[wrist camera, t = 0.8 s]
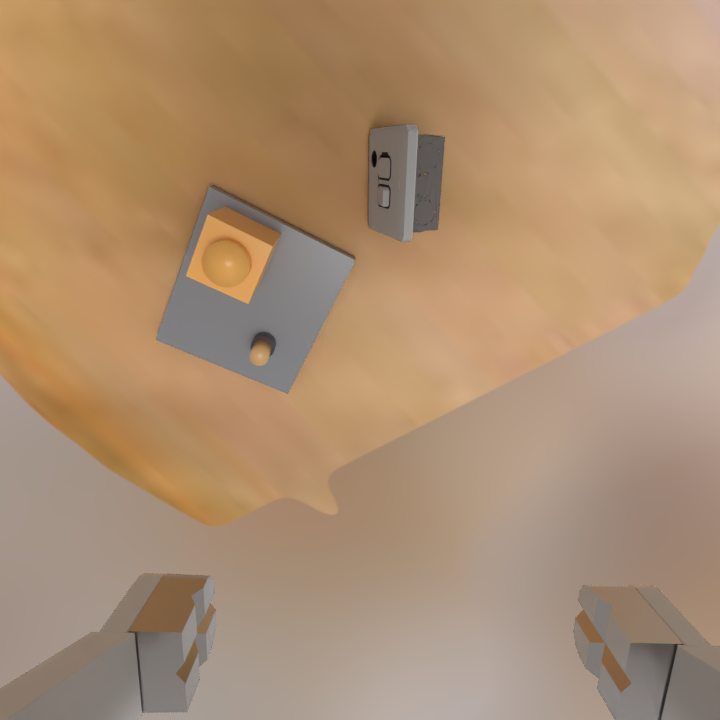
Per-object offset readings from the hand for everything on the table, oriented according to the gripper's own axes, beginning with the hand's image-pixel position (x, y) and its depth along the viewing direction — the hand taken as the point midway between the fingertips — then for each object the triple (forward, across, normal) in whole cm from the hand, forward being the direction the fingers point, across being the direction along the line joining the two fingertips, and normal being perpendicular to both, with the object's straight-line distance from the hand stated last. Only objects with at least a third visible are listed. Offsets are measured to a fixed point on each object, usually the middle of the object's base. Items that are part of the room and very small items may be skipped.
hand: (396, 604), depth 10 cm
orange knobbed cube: (+39, +13, -8) cm, 42 cm away
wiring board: (+42, +13, -3) cm, 43 cm away
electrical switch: (+40, -2, -16) cm, 43 cm away
